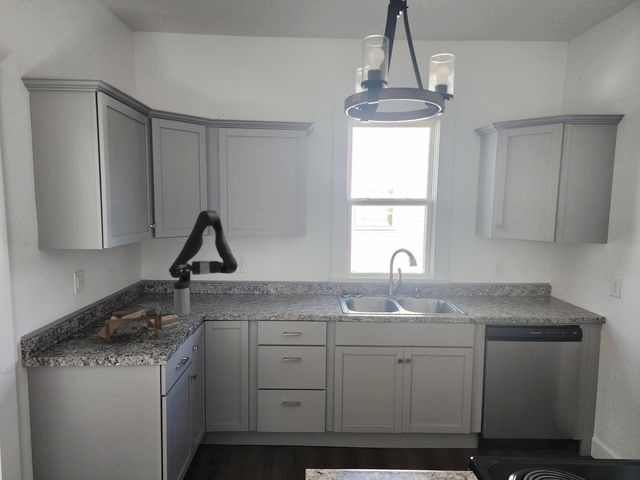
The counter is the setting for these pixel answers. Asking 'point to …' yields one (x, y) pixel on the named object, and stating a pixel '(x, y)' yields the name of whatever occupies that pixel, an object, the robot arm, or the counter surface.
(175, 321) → the packaged product
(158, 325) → the wooden legged stool
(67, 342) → the counter surface
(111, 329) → the block
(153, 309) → the trapdoor
